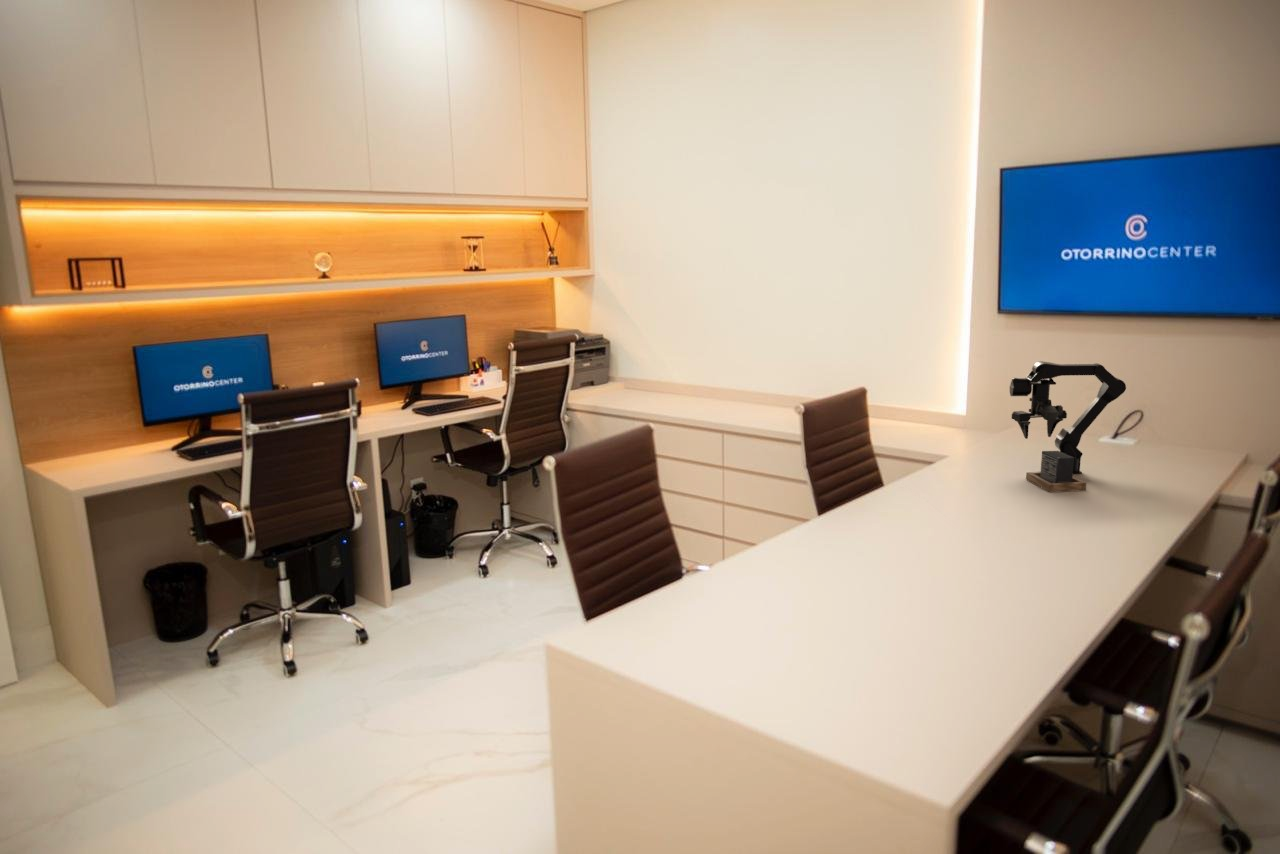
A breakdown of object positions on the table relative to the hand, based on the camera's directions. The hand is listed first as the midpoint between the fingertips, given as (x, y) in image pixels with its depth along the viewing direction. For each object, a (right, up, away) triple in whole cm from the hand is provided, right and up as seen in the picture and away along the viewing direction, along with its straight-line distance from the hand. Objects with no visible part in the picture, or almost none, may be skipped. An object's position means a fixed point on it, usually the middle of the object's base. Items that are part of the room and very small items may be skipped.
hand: (1037, 437), depth 315 cm
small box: (0, -16, -13) cm, 21 cm away
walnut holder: (0, -16, -14) cm, 21 cm away
